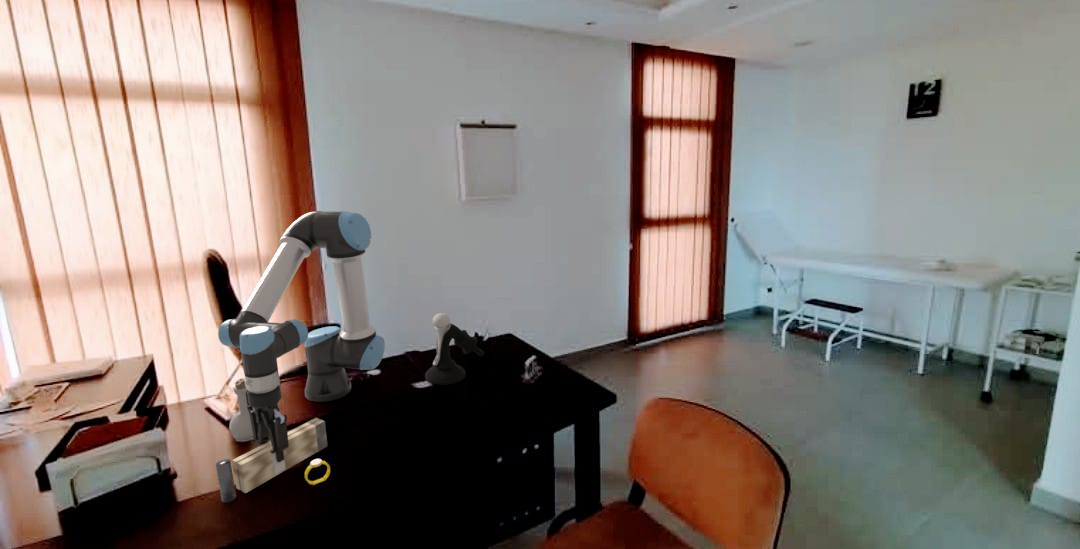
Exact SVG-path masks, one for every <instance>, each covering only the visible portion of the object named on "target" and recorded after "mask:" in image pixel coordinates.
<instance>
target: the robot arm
mask: <svg viewBox="0 0 1080 549" xmlns="http://www.w3.org/2000/svg"><path fill="white" fill-rule="evenodd" d="M371 230H372V229H371V227H370V223H369V221H368V220H367V218H365V217H364V215H362V214H361V213H358V212H352V211H330V210H329V211H323V210H321V211H320V210H316V211H310V212H307V213H305V214H303V215H301V216H300V217H298V218H297V219H295V221H293V222H292V223H291V225H289V226H288V227H287V228H286V229H285V231H284V233H283V234H282V235H281V237H280V239H279V241H278V245H279V247H278V249H277V250H276V252H275V254H274V256H273V257H272V259H271V260H270V262H269V264H268V265H267V267H266V269H264V270H265V271H264V272H263V273H262V275H261V277H260V279H259V280H258V282H257V284H256V285H255V287H254V288H253V290H252V291H251V293H250V295H249V297H248V299H247V300H246V302H245V303H244V305H243V307H242V308H241V309H240V311H239V313H238V314H237V316H236V318H232V319H227V320H225V321H224V322H221V325H220V326H219V328H218V332H217V337H218V339H219V342H220V343H221V344H222V345H223V346H226V347H230V348H234V349H239V350H240V355H241V360H242V361H241V362H242V367H243V373H244V379H245V385H246V388H247V392H246V398H247V404H248V405H247V406H248V407H247V409H248V412H249V414H250V420H251V426H252V431H253V437H254V439H253V440H254V441H255V442H257V443H258V445H259V446H261V445H263V444H265V443H267V442H269V441H271V443H272V447H273V450H272V451H270V452H271V454H272V461H273V468H274V473H275V474H277V473H279V472H281V471H282V470H284V469H285V461H284V452H283V450H284V449H286V448H288V447H289V444H288V434H287V432H288V426H287V424H288V423H287V422H288V415H287V414H286V413H284V414H281V412H280V408H279V405H278V403H279V402H280V401H281V399H282V390H281V385H280V383H281V382H280V380H281V379H280V375H279V374H280V373H279V368H278V359H279V358H281V357H282V356H284V355H286V354H287V353H289V352H291V351H293V350H295V349H298V348H299V347H300V346H301V345H302V344H304V349H305V357H306V358H305V359H306V365H307V374H308V375H307V378H306V379H307V380H306V383H305V387H304V397H305V398H306V399H307V400H308V401H311V402H316V403H323V402H331V401H335V400H338V399H341V398H343V397H345V396H347V395H348V394H349V393H350V392H351V390H352V383H351V380H350V378H349V376H348V374H347V372H346V369H356V370H361V371H364V370H365V371H366V370H374V369H376V368H377V367H378V366H379V365H380V363H381V361H382V359H383V357H384V353H385V350H386V349H385V347H386V346H385V345H386V343H385V339H384V338H383V336H381V335H377V330H376V327H375V326H374V325H373V324H371V320H370V311H369V307H368V298H367V291H366V283H365V276H364V270H363V269H364V268H363V261H362V257H363V256H365V254H366V250H367V248H369V246H370V244H371V239H372V231H371ZM315 249H325V251H326V252H325V253H326V256H327V258H328V259H330V260H331V261H332V264H333V268H334V269H333V270H334V276H335V283H336V289H337V296H338V303H339V309H340V315H341V322H342V329H341V327H340V326H337V325H335V326H325V327H324V326H323V327H321V328H317V329H313V330H312V331H310V332H309V331H308V327H307V326H306V324H305V323H304V322H303V321H301V320H299V319H295V318H293V319H288V320H285V321H284V322H270V320H271V317H272V315H273V313H274V312H275V311H276V309H277V307H278V305H279V303H280V301H281V300H282V297H283V296H284V295H285V293H286V292H287V289H288V287H289V286H290V284H291V282H292V281H293V278H294V277H295V275H296V273H297V271H298V270H299V268H300V267H301V264H302V263H303V261H304V259H305V258H309V257H310V255H311V254H312V252H313V251H314V250H315ZM257 434H258V435H257Z"/></svg>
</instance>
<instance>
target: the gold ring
mask: <svg viewBox="0 0 1080 549" xmlns="http://www.w3.org/2000/svg"><path fill="white" fill-rule="evenodd" d="M321 465H325V466H326V469H327V470H326V473H325V474H324V475H323V477H320V478H318V479H315V480H310V479H309V478H308V475H309V474H310V473H309V472H310V471H311V470H312V469H313V468H317V467H320V466H321ZM330 473H331V466H330V464H329V463H328V462H326V461H325V460H322V459H321V458H315V459H313V460H311V461H310V463H309V465H308V466H307V467H306V469H305V471H304V479H305V481H306V482H307V483H308V484H309V485H311V486H315V485H318V484H319V483H323V482H325V481H326V480H327V479H329V476H330Z"/></svg>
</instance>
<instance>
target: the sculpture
mask: <svg viewBox="0 0 1080 549" xmlns="http://www.w3.org/2000/svg"><path fill="white" fill-rule="evenodd" d="M432 324H433V326H434V329H435V330H436V340H435V342H436V344H435V346H436V347H435V348H436V349H435V350H436V356H435V358H434V360H433V362H432V366H431V367H430V368H429V369H428V370H426V372H425V374H424V378H425V381H427V382H428V383H429V384H433V385H439V386H441V385H442V386H446V385H454V384H456V383H458V382H461V381H463V380H464V379H465V377H466V370H465V369H464V368H463V367H462V366H461V365H458V364H456V361H455V360H454V359H452V357H451V352H450V344H451V341H452V339H453V344H454V345H455V346H458V347H460V348H461V349H462V351H463V352H462V353H463V354H465V355H469V354H470V353H472V352H473V353H475V354H477V355H478V356H479V357H481V358H482V357H483V356H484V355H485V353H486V352H485V351H484V350H482V349H481V348H480V347H478V346H477V344H478V338H477V337H476V336H471V335H469V333H468V332H467V330H466V329H460V328H459V327H458V326H456V325H455V324H453V323H450V318H449V316H448V315H447V314H446V313H443V312H440V313H436V315H434V316H433V318H432Z"/></svg>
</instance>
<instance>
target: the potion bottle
mask: <svg viewBox="0 0 1080 549" xmlns="http://www.w3.org/2000/svg"><path fill="white" fill-rule="evenodd" d="M234 385H235V386H234V387H233V388H232V390H233V392H234V394H235V395H236V396H237V402H238V407H239V412H236V413H235V414H234V415H233V416H232V417H231V419H230V421H229V426H228V428H229V431H230V433H231V436H232V438H233V439H235V442H241V443H246V442H249V441H253V440H254V437H253V431H252V426H251V420H250V414H249V412H248V409H247V407H248V406H249V405H248V398H247V391H248V390H247V388H246V385H245V378H244V377H242V378H239V379H237V380H235V383H234ZM257 435H258V434H257Z"/></svg>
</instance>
